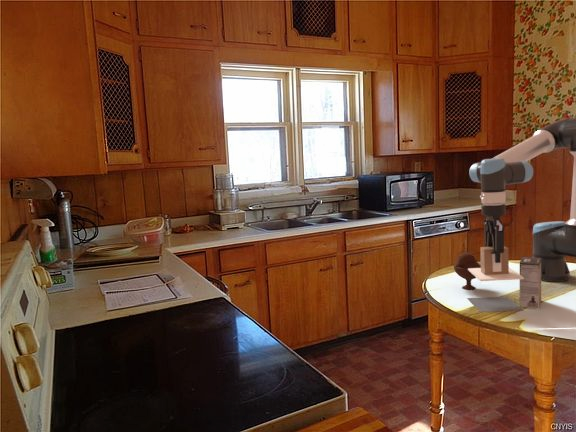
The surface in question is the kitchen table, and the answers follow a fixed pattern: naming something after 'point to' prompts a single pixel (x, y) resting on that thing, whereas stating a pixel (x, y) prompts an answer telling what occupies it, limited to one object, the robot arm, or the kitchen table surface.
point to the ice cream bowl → (466, 269)
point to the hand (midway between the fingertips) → (494, 269)
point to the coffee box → (530, 282)
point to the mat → (494, 304)
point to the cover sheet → (495, 277)
